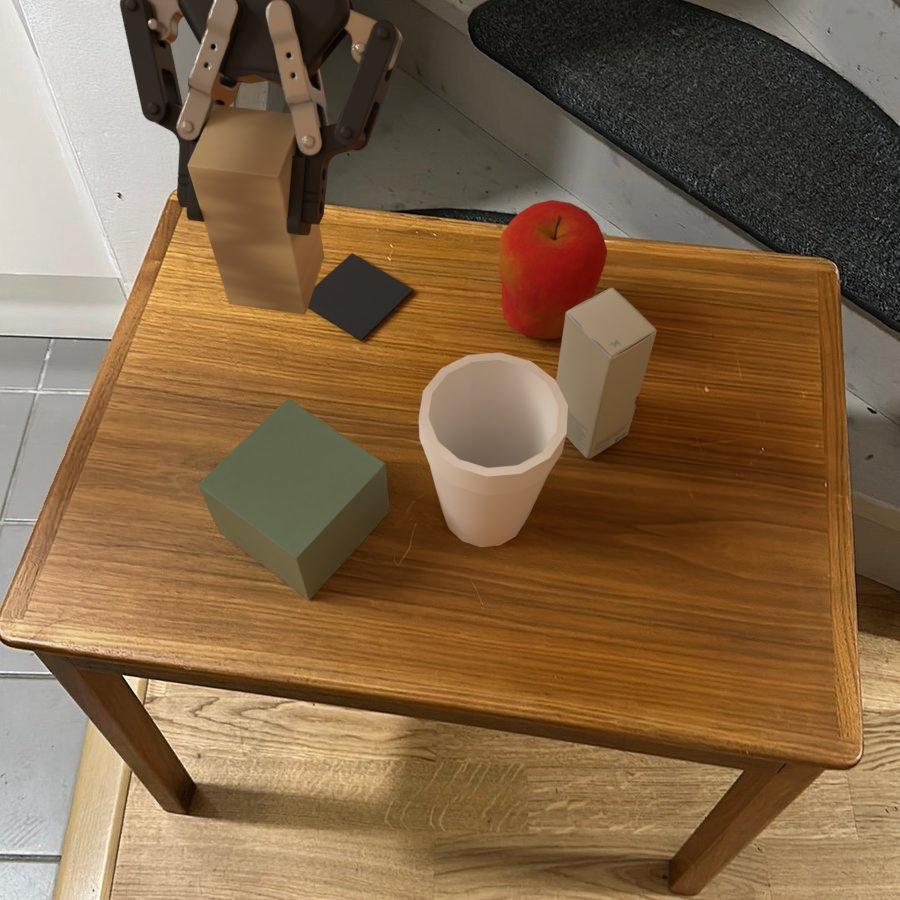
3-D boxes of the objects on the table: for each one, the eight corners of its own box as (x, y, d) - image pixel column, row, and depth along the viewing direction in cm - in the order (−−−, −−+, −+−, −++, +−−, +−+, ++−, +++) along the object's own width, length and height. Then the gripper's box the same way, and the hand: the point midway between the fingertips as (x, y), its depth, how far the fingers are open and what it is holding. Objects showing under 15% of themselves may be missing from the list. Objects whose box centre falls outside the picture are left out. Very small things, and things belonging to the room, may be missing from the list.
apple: (502, 273, 82) (511, 168, 72) (597, 288, 81) (619, 184, 71) (485, 348, 77) (492, 248, 67) (585, 365, 76) (607, 265, 66)
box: (629, 436, 73) (663, 332, 62) (585, 462, 71) (613, 361, 60) (587, 390, 75) (613, 283, 64) (544, 415, 74) (563, 310, 63)
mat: (299, 303, 80) (299, 300, 79) (352, 255, 83) (352, 252, 82) (361, 342, 77) (361, 339, 77) (413, 292, 80) (413, 289, 80)
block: (228, 304, 52) (186, 165, 44) (250, 246, 54) (214, 103, 46) (305, 315, 52) (279, 176, 43) (324, 256, 54) (303, 114, 45)
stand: (217, 531, 68) (196, 484, 62) (300, 449, 72) (287, 397, 66) (309, 601, 65) (296, 558, 59) (389, 511, 69) (385, 463, 63)
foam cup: (464, 589, 66) (470, 501, 55) (398, 492, 70) (391, 393, 59) (572, 526, 69) (598, 431, 57) (503, 436, 73) (514, 331, 62)
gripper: (89, -199, 40) (78, 208, 44) (415, -169, 39) (373, 247, 43) (161, -132, 47) (146, 212, 51) (438, -104, 46) (400, 245, 50)
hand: (250, 226), depth 47 cm, fingers closed on block, 4 cm apart
